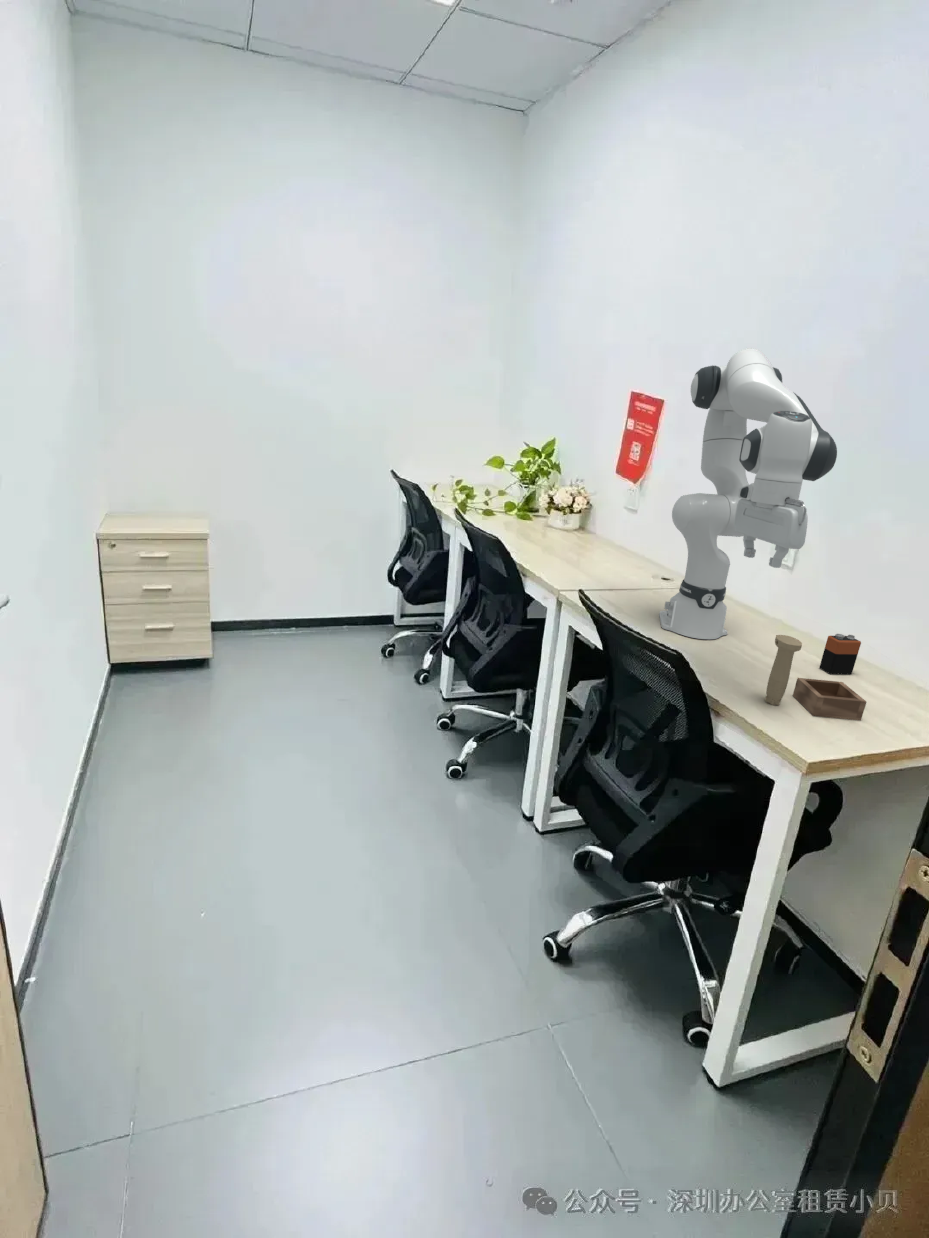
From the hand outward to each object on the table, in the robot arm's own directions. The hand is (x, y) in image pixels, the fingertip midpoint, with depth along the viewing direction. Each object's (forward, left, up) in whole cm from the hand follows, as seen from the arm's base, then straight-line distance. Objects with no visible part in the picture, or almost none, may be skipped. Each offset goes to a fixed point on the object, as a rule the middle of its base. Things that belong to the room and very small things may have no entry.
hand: (761, 561), depth 144 cm
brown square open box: (0, +22, -32) cm, 39 cm away
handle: (0, +10, -32) cm, 33 cm away
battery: (-24, +36, -32) cm, 54 cm away
